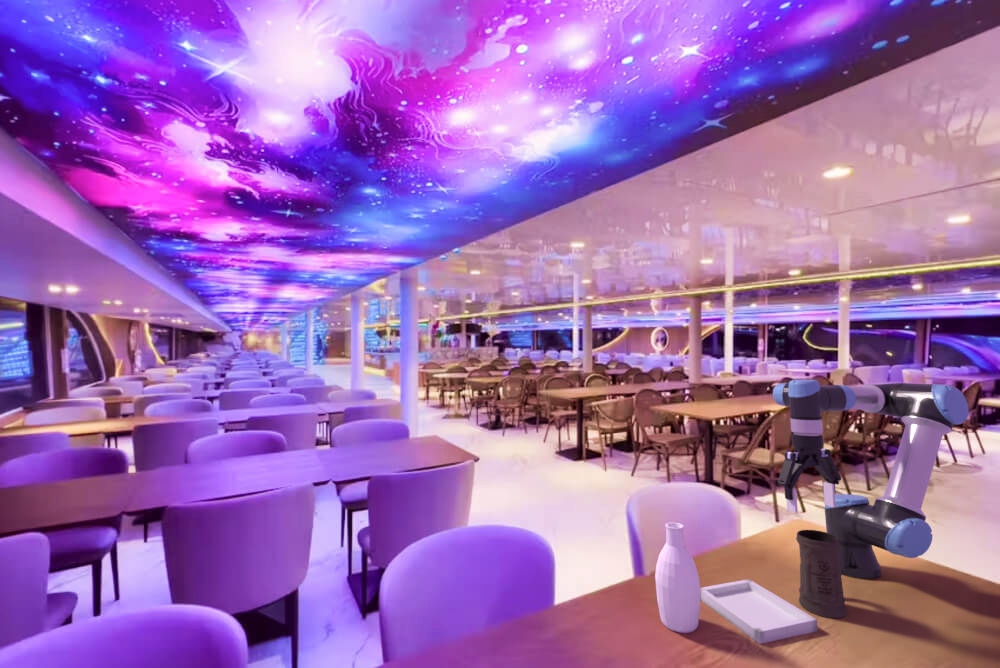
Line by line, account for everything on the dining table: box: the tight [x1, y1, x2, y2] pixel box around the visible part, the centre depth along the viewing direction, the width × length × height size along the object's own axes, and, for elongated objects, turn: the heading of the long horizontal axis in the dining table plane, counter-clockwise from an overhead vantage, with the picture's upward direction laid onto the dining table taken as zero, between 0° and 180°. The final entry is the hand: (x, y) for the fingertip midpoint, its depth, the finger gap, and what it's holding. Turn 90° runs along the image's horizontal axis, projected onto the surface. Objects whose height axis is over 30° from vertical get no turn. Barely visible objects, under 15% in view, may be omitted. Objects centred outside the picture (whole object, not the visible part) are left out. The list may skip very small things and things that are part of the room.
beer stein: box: [795, 529, 847, 619], centre depth 126 cm, size 15×11×20 cm
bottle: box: [654, 521, 701, 634], centre depth 119 cm, size 11×11×25 cm
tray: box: [700, 578, 819, 645], centre depth 122 cm, size 18×22×3 cm
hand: (811, 508), depth 127 cm, fingers open, 13 cm apart
